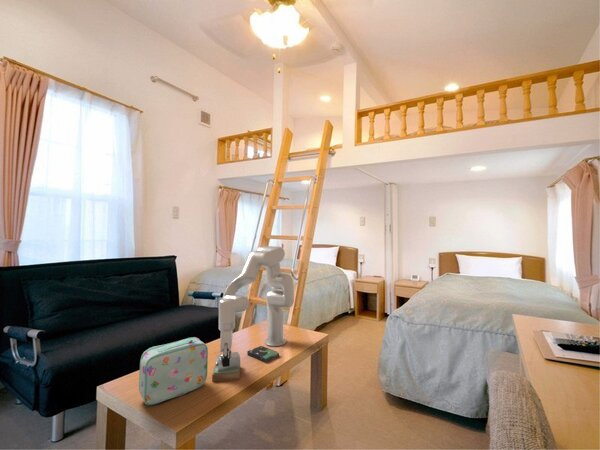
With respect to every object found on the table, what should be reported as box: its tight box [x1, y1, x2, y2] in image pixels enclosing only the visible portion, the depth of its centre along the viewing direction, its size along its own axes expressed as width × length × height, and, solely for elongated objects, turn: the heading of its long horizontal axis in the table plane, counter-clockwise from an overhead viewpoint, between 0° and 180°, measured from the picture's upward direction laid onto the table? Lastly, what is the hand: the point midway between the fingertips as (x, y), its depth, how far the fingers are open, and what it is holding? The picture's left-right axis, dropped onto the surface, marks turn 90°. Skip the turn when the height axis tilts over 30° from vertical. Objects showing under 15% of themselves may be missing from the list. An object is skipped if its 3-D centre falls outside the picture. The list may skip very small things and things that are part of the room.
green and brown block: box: [211, 364, 241, 382], centre depth 136 cm, size 12×12×3 cm
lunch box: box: [138, 336, 209, 406], centre depth 121 cm, size 27×10×21 cm, turn 133°
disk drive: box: [246, 345, 280, 364], centre depth 155 cm, size 10×3×15 cm
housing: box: [214, 351, 241, 371], centre depth 136 cm, size 11×6×6 cm, turn 113°
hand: (226, 361), depth 136 cm, fingers open, 9 cm apart
